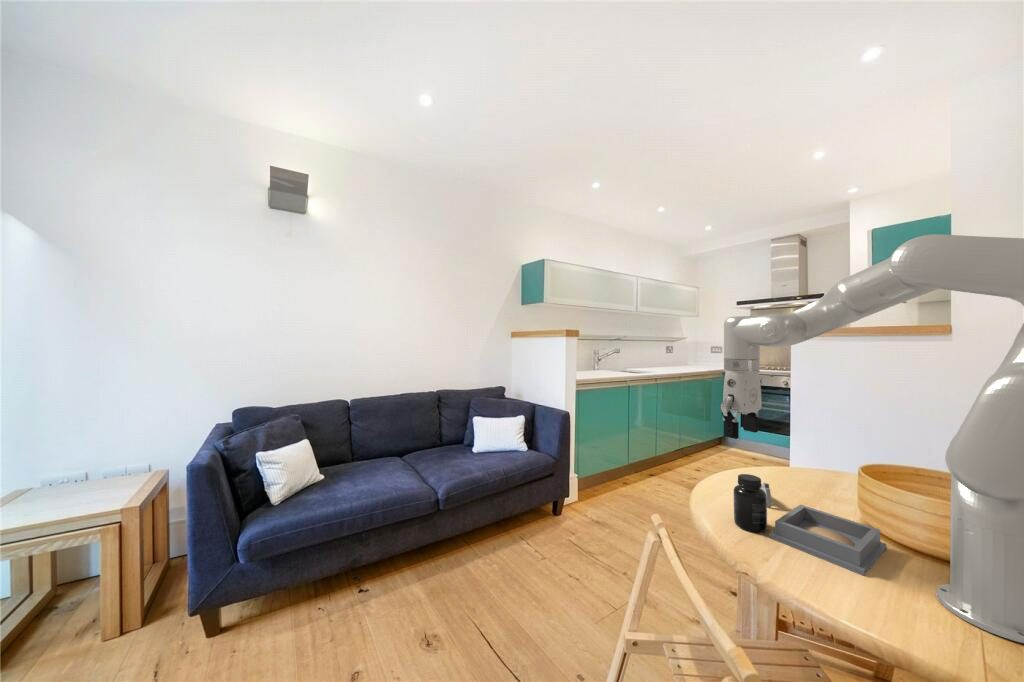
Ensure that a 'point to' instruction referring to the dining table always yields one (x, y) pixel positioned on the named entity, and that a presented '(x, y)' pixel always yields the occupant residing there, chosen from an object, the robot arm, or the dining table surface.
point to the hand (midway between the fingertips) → (741, 434)
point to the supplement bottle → (750, 504)
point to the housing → (830, 538)
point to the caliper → (767, 493)
